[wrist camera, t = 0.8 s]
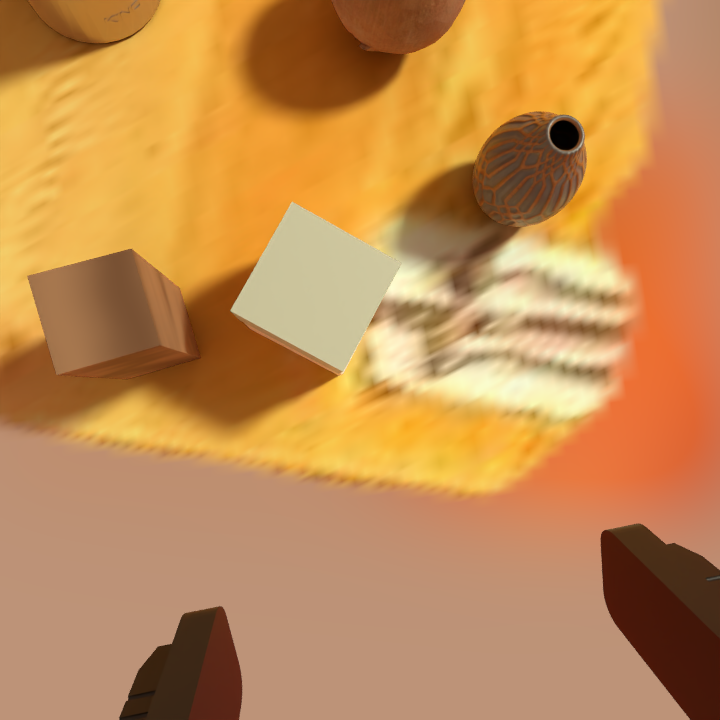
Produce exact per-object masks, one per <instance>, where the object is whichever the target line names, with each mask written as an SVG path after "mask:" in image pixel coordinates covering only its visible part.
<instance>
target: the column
mask: <svg viewBox="0 0 720 720" xmlns="http://www.w3.org/2000/svg"><path fill="white" fill-rule="evenodd" d="M28 280H29V283H30V287H31V290H32V293H33V297H34V300H35V304H36V307H37V311H38V314H39V317H40V321H41V324H42V328H43V331H44V334H45V338H46V341H47V345H48V348H49V351H50V355H51V358H52V362H53V365H54V369H55V372H56V375H63V376H81V377H98V378H115V379H130V378H133V377H137V376H140V375H144V374H147V373H151V372H154V371H157V370H161V369H164V368H168V367H171V366H175V365H178V364H181V363H185V362H188V361H192V360H195V359H198V358H201V357H200V354H199V350H198V347H197V344H196V340H195V337H194V334H193V330H192V327H191V324H190V320H189V317H188V314H187V310H186V307H185V304H184V300H183V297H182V294H181V290H180V288H179V287H178V286H176V285H175V284H174V283H173V282H172V281H170V280H169V279H168V278H167V277H165V276H164V275H163V274H162V273H161V272H159V271H158V270H157V269H156V268H154V267H153V266H152V265H151V264H149V263H148V262H147V261H146V260H145V259H143V258H142V257H141V256H140V255H138V254H137V253H136V252H135V251H134V250H132V249H128V250H125V251H121V252H117V253H113V254H109V255H106V256H102V257H98V258H94V259H90V260H86V261H83V262H79V263H75V264H71V265H67V266H64V267H60V268H56V269H52V270H48V271H44V272H41V273H37V274H33V275H29V276H28Z"/></svg>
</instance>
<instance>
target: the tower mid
mask: <svg viewBox="0 0 720 720" xmlns="http://www.w3.org/2000/svg"><path fill="white" fill-rule="evenodd" d="M400 265H401V263H400V262H399V261H397V260H395V259H393V258H392V257H390V256H388V255H386V254H384V253H383V252H381V251H379V250H377V249H376V248H374V247H372V246H370V245H368V244H367V243H365V242H363V241H361V240H359V239H358V238H356V237H354V236H352V235H351V234H349V233H347V232H345V231H343V230H342V229H340V228H338V227H336V226H335V225H333V224H331V223H329V222H327V221H326V220H324V219H322V218H320V217H318V216H317V215H315V214H313V213H311V212H310V211H308V210H306V209H304V208H302V207H301V206H299V205H297V204H295V203H293V202H292V203H291V205H290V206H289V208H288V210H287V212H286V213H285V215H284V217H283V219H282V220H281V222H280V224H279V226H278V228H277V229H276V231H275V233H274V235H273V236H272V238H271V240H270V242H269V243H268V245H267V247H266V249H265V250H264V252H263V254H262V256H261V257H260V259H259V261H258V263H257V264H256V266H255V268H254V270H253V272H252V273H251V275H250V277H249V279H248V280H247V282H246V284H245V286H244V287H243V289H242V291H241V293H240V294H239V296H238V298H237V300H236V301H235V303H234V305H233V307H232V308H231V310H230V311H231V312H232V313H233V314H234V315H235V316H236V317H237V318H238V319H239V320H240V321H242V322H244V323H246V324H247V325H249V326H251V327H253V328H255V329H257V330H258V331H260V332H262V333H264V334H266V335H268V336H270V337H271V338H273V339H275V340H277V341H279V342H281V343H283V344H284V345H286V346H288V347H290V348H292V349H294V350H296V351H297V352H299V353H301V354H303V355H305V356H307V357H309V358H310V359H312V360H314V361H316V362H318V363H320V364H322V365H323V366H325V367H327V368H329V369H331V370H333V371H335V372H336V373H338V374H339V373H342V372H343V371H344V369H345V368H346V366H347V364H348V362H349V360H350V358H351V356H352V355H353V353H354V351H355V349H356V347H357V345H358V343H359V342H360V340H361V338H362V336H363V334H364V332H365V330H366V328H367V327H368V325H369V323H370V321H371V319H372V317H373V315H374V314H375V312H376V310H377V308H378V306H379V304H380V302H381V301H382V299H383V297H384V295H385V293H386V291H387V289H388V288H389V286H390V284H391V282H392V280H393V278H394V276H395V274H396V273H397V271H398V269H399V267H400Z"/></svg>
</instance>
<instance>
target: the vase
mask: <svg viewBox="0 0 720 720" xmlns="http://www.w3.org/2000/svg"><path fill="white" fill-rule="evenodd" d="M584 138H585V135H584V130H583V127H582V126H581V124H580V123H579V122H578V121H577V120H576V119H575V118H573V117H571V116H569V115H557V114H554V113H550V112H530V113H526V114H522V115H520V116H517V117H515V118H513V119H511V120H509V121H507V122H506V123H504V124H503V125H501V126H500V127H499V128H498V129H497V130H495V131H494V132H493V133H492V135H491V136H490V137H489V138H488V139H487V141H486V142H485V144H484V145H483V147H482V148H481V150H480V152H479V154H478V156H477V159H476V162H475V165H474V170H473V190H474V194H475V198H476V200H477V202H478V204H479V206H480V207H481V209H482V210H483V211H484V212H485V214H486V215H488V216H489V217H490V218H491V219H493V220H495V221H496V222H498V223H501V224H504V225H507V226H514V227H524V226H530V225H535V224H538V223H540V222H543V221H545V220H547V219H549V218H550V217H552V216H554V215H555V214H557V213H558V212H559V211H561V210H562V209H563V208H564V207H565V206H566V205H567V204H568V203H569V202H570V201H571V199H572V198H573V196H574V195H575V194H576V192H577V190H578V188H579V187H580V185H581V182H582V180H583V177H584V174H585V170H586V162H587V156H586V148H585V144H584Z"/></svg>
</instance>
